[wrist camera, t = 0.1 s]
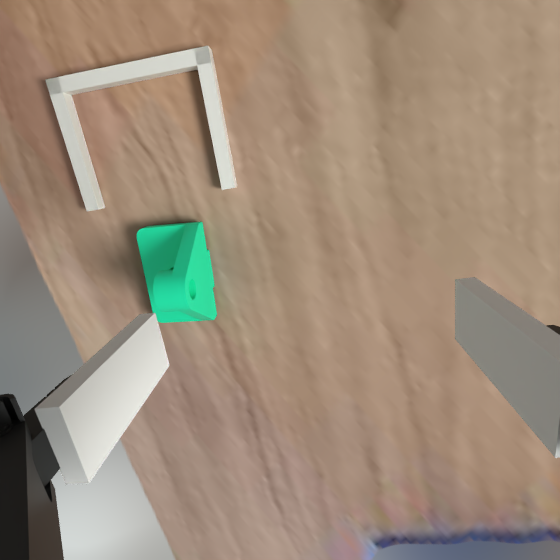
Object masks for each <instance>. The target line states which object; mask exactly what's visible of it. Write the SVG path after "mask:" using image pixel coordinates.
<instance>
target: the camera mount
mask: <svg viewBox="0 0 560 560" xmlns="http://www.w3.org/2000/svg"><path fill="white" fill-rule="evenodd" d="M137 242H138V246H139V251H140V256H141V260H142V265H143V269H144V274H145V279H146V283H147V288H148V293H149V297H150V302H151V306H152V311H153V313H155V314H156V317H157V321H158V322H161V323H167V322H185V321H203V320H214V319H215V317H216V316H217V312H216V305H215V299H214V293H213V287H214V286H215V285H214V279H213V272H212V266H211V260H210V253H209V250H207V248H206V242H205V235H204V229H203V223H202V222H192V223H180V224H168V225H155V226H147V227H145V228H142V229H140V230H139V231H138V232H137Z"/></svg>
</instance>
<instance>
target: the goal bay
mask: <svg viewBox="0 0 560 560" xmlns="http://www.w3.org/2000/svg"><path fill="white" fill-rule="evenodd" d="M193 70H198V72H199V78H200V83H201V88H202V93H203V98H204V103H205V108H206V113H207V118H208V123H209V128H210V133H211V138H212V143H213V148H214V153H215V158H216V163H217V168H218V173H219V178H220V183H221V188H222V190H223V189H229V188H235V187H237V183H236V177H235V172H234V166H233V161H232V156H231V150H230V145H229V140H228V134H227V129H226V124H225V118H224V113H223V107H222V102H221V97H220V91H219V86H218V81H217V75H216V70H215V65H214V59H213V54H212V50H211V49H210V47H209V46H204V47H199V48H194V49H190V50H185V51H180V52H175V53H170V54H166V55H161V56H156V57H151V58H147V59H142V60H137V61H132V62H127V63H123V64H118V65H113V66H108V67H103V68H99V69H94V70H89V71H84V72H80V73H75V74H70V75H65V76H60V77H56V78H51V79H46V80H45V81H46V84H47V87H48V90H49V93H50V97H51V100H52V103H53V106H54V109H55V112H56V115H57V119H58V122H59V125H60V128H61V131H62V134H63V138H64V141H65V144H66V147H67V150H68V153H69V157H70V160H71V163H72V166H73V169H74V172H75V176H76V179H77V182H78V185H79V188H80V191H81V195H82V198H83V201H84V204H85V207H86V210H87V211H92V210H98V209H103V208H105V205H104V202H103V198H102V195H101V192H100V188H99V185H98V182H97V178H96V175H95V172H94V168H93V165H92V162H91V158H90V155H89V152H88V148H87V145H86V142H85V138H84V135H83V131H82V128H81V125H80V121H79V118H78V115H77V111H76V108H75V105H74V101H73V98H72V95H75V94H79V93H84V92H89V91H94V90H99V89H104V88H109V87H114V86H119V85H124V84H129V83H134V82H139V81H144V80H149V79H154V78H159V77H164V76H169V75H174V74H179V73H184V72H189V71H193Z"/></svg>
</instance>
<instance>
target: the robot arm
mask: <svg viewBox="0 0 560 560" xmlns="http://www.w3.org/2000/svg"><path fill="white" fill-rule="evenodd" d="M455 339H456V340H457V342H458V343H459V344H460V345H461V346H462V348H463V349H464V350H465V351H466V352H467V354H468V355H469V356H470V357H471V358H472V359H473V361H474V362H475V363H476V364H477V365H478V367H479V368H480V369H481V370H482V371H483V373H484V374H485V375H486V376H487V377H488V378H489V380H490V381H491V382H492V383H493V384H494V386H495V387H496V388H497V389H498V390H499V391H500V393H501V394H502V395H503V396H504V397H505V399H506V400H507V401H508V402H509V403H510V405H511V406H512V407H513V408H514V409H515V410H516V412H517V413H518V414H519V415H520V416H521V418H522V419H523V420H524V421H525V422H526V424H527V425H528V426H529V427H530V428H531V429H532V431H533V432H534V433H535V434H536V435H537V437H538V438H539V439H540V440H541V441H542V443H543V444H544V445H545V446H546V447H547V448H548V450H549V451H550V452H551V453H552V454H553V456H554V457H555V458H558V457H560V327H558V326H555V325H547V326H546V325H544V324H543V323H541V322H540V321H538V320H537V319H535V318H534V317H532V316H531V315H529V314H528V313H527V312H525V311H524V310H522V309H521V308H519V307H518V306H516V305H515V304H513V303H512V302H510V301H509V300H507V299H506V298H504V297H503V296H502V295H500V294H499V293H497V292H496V291H494V290H493V289H491V288H490V287H488V286H487V285H485V284H484V283H482V282H481V281H479V280H478V279H477V278H475V277H472V278H463V279H455ZM168 367H169V362H168V358H167V354H166V351H165V347H164V343H163V339H162V336H161V332H160V328H159V325H158V321H157V317H156V314H155V313H148V314H139V315H138V316H137V317H136V318H135V319H134V320H133V321H132V322H130V323H129V324H128V325H127V326H126V327H125V328H124V329H123V330H122V331H120V332H119V333H118V334H117V335H116V336H115V337H114V338H113V339H112V340H110V341H109V342H108V343H107V344H106V345H105V346H104V347H103V348H102V349H100V350H99V351H98V352H97V353H96V354H95V355H94V356H93V357H92V358H90V359H89V360H88V361H87V362H86V363H85V364H84V365H83V366H82V367H80V368H79V369H78V370H77V371H76V372H75V373H74V374H72V375H71V376H69V377H68V378H66V379H64V380H63V381H62V382H61V383H60V384H59V385H58V386H56V387H55V389H54V390H52V391H51V392H50V393H49V394H47V397H44V398H43V399H42V400H41V401H40V402H38V403H37V404H36V405H35V406H34V407H33V408H32V409H31V410H29V411H28V412H27V413H26V414H25V415H24V416H23V414H22V412H21V410H20V407H19V405H18V403H17V401H16V398H15V397H14V395H13V394H4V395H0V560H64V559H63V558H64V557H63V550H62V542H61V534H60V527H59V518H58V510H57V502H56V495H55V488H54V486H53V484H52V482H51V479H52V478H53V476H54V475H55V474H56V473H57V471H58V470H59V469H60V471H61V474H62V476H63V479H64V481H65V483H66V484H84V483H90V481H91V480H92V478H93V477H94V475H95V474H96V473H97V471H98V470H99V468H100V467H101V465H102V464H103V462H104V461H105V459H106V458H107V456H108V455H109V453H110V452H111V451H112V449H113V447H114V446H115V445H116V443H117V442H118V440H119V439H120V437H121V436H122V434H123V433H124V431H125V430H126V429H127V427H128V426H129V424H130V423H131V421H132V420H133V418H134V417H135V415H136V414H137V412H138V411H139V409H140V408H141V407H142V405H143V404H144V402H145V401H146V399H147V398H148V396H149V395H150V393H151V392H152V390H153V389H154V387H155V386H156V385H157V383H158V382H159V380H160V379H161V377H162V376H163V374H164V373H165V371H166V370H167V368H168Z"/></svg>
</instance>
